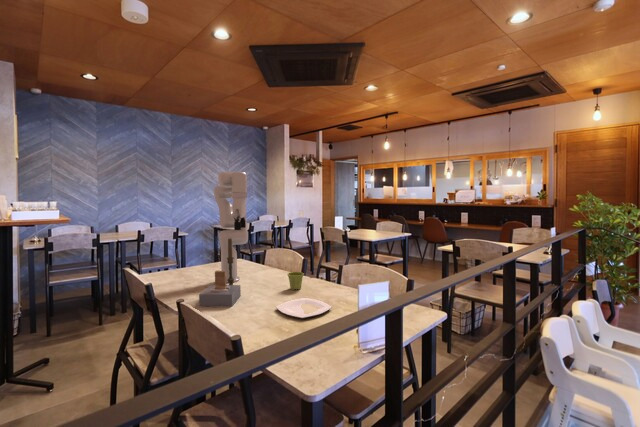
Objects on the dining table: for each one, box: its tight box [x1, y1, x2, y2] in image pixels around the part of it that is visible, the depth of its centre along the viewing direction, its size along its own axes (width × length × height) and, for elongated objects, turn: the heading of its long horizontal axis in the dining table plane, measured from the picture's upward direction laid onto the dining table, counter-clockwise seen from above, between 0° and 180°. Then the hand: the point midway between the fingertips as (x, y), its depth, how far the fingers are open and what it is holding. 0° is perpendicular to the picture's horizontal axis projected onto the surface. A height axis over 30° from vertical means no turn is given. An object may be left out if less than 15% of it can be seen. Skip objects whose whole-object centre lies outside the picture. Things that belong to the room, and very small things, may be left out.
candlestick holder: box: [227, 239, 235, 285], centre depth 189 cm, size 9×9×30 cm
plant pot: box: [287, 271, 305, 290], centre depth 193 cm, size 9×9×9 cm
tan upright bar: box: [214, 270, 227, 289], centre depth 171 cm, size 2×5×14 cm, turn 89°
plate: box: [275, 297, 333, 319], centre depth 159 cm, size 23×23×2 cm
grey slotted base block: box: [198, 284, 242, 308], centre depth 172 cm, size 16×16×7 cm
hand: (240, 228), depth 176 cm, fingers open, 9 cm apart
